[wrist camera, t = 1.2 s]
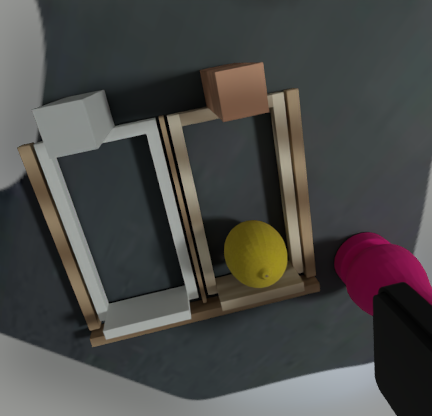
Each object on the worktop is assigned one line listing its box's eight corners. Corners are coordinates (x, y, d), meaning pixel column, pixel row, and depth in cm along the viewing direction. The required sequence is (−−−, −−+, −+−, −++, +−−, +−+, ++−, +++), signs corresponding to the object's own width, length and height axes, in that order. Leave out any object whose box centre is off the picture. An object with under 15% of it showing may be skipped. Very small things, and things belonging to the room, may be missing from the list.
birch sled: (158, 78, 31) (157, 83, 22) (275, 54, 31) (318, 51, 23) (207, 288, 39) (220, 352, 30) (299, 266, 39) (338, 322, 31)
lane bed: (22, 144, 31) (13, 149, 29) (293, 88, 33) (301, 89, 31) (96, 333, 39) (92, 347, 37) (312, 280, 40) (320, 291, 39)
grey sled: (24, 105, 30) (-30, 122, 21) (146, 81, 31) (141, 87, 22) (102, 313, 38) (85, 386, 29) (197, 290, 39) (208, 354, 30)
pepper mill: (364, 214, 38) (554, 353, 20) (405, 251, 41) (607, 406, 22) (315, 263, 40) (451, 436, 21) (357, 297, 42) (511, 478, 24)
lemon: (211, 252, 38) (224, 299, 30) (227, 202, 36) (245, 238, 28) (262, 262, 39) (286, 309, 31) (279, 214, 37) (309, 252, 30)
